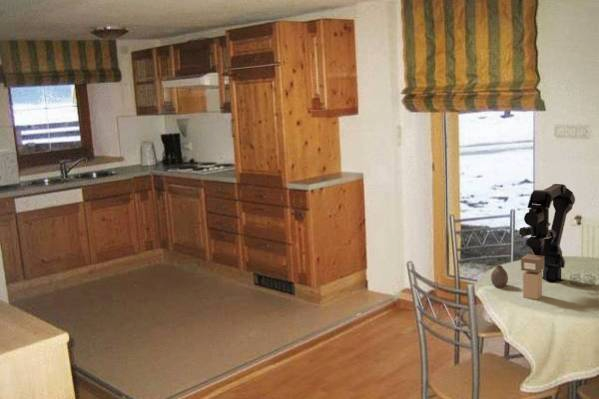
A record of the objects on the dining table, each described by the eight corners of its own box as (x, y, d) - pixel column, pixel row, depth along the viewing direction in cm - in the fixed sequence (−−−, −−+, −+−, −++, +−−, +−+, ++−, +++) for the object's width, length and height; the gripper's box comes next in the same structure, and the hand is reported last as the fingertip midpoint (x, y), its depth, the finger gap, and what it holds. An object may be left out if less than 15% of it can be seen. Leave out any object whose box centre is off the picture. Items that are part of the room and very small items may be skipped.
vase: (508, 288, 266) (508, 268, 265) (491, 288, 268) (491, 268, 266) (507, 283, 273) (506, 263, 271) (490, 283, 274) (490, 263, 273)
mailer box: (528, 293, 260) (528, 269, 258) (542, 295, 256) (542, 271, 254) (523, 297, 255) (523, 272, 253) (537, 299, 252) (537, 274, 250)
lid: (527, 265, 258) (527, 253, 257) (544, 268, 254) (544, 255, 253) (521, 270, 253) (521, 258, 252) (538, 272, 249) (538, 260, 248)
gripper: (529, 214, 271) (529, 250, 274) (513, 224, 257) (513, 261, 260) (556, 216, 264) (555, 253, 267) (541, 226, 250) (540, 264, 253)
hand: (540, 257), depth 262 cm, fingers open, 9 cm apart
